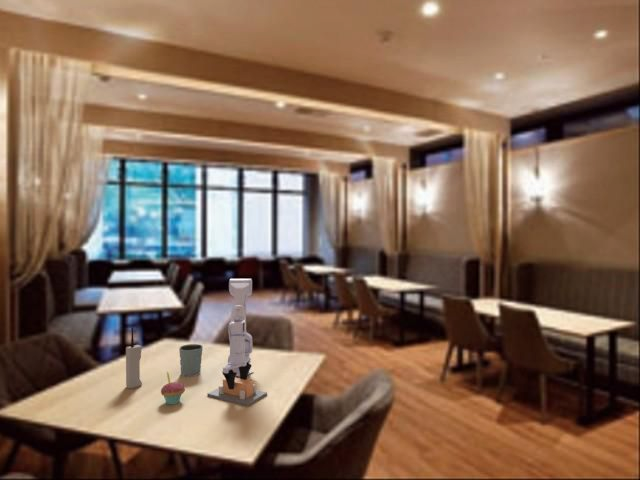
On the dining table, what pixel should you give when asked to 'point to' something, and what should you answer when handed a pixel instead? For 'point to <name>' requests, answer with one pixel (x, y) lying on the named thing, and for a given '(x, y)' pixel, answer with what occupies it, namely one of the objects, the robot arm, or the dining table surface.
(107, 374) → the dining table surface
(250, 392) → the long tan brick
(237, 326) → the robot arm
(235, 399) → the grey pegged plate
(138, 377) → the vintage mobile phone
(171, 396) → the cupcake
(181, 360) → the drinking glass
